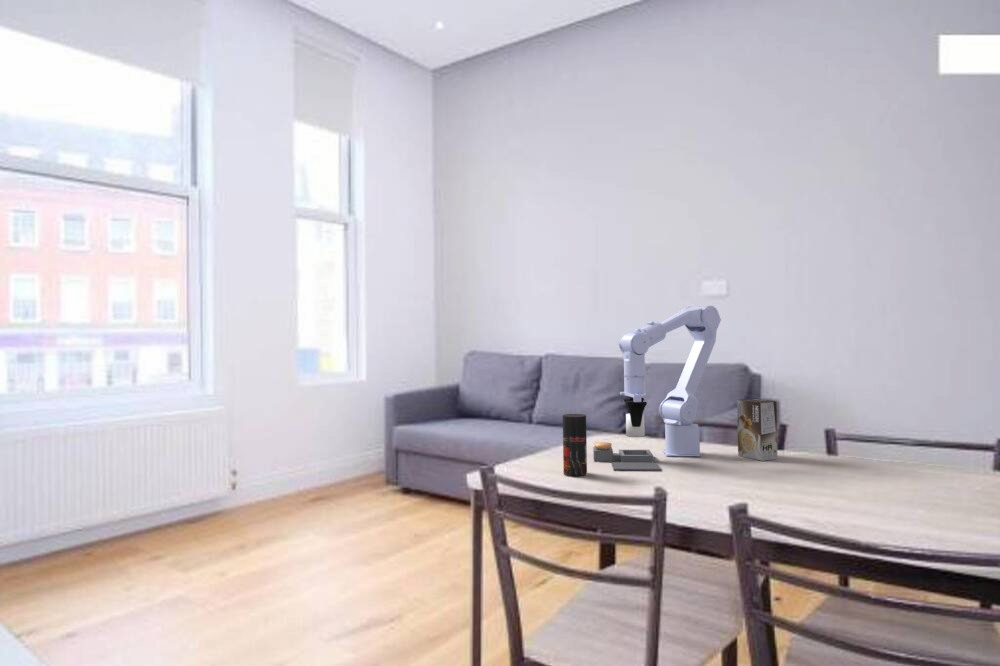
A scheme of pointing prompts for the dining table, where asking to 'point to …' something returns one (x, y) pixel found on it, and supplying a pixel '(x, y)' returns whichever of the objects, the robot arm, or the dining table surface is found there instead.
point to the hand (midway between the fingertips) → (635, 425)
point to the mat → (635, 466)
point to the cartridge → (634, 428)
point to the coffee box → (757, 429)
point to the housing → (622, 455)
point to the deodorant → (574, 445)
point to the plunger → (602, 445)
